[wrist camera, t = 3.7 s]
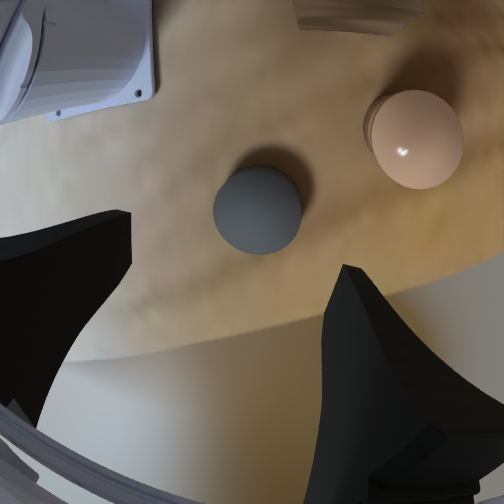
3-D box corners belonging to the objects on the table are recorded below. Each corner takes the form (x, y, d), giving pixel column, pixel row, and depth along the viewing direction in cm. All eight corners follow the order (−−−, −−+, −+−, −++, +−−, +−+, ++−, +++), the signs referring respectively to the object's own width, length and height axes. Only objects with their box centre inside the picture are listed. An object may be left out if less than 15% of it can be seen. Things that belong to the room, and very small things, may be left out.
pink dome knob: (358, 165, 17) (369, 184, 13) (359, 86, 15) (373, 83, 11) (431, 172, 16) (457, 193, 13) (436, 96, 14) (466, 99, 10)
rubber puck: (224, 239, 21) (217, 252, 19) (218, 165, 19) (209, 172, 17) (301, 242, 20) (299, 256, 18) (302, 165, 18) (301, 172, 16)
